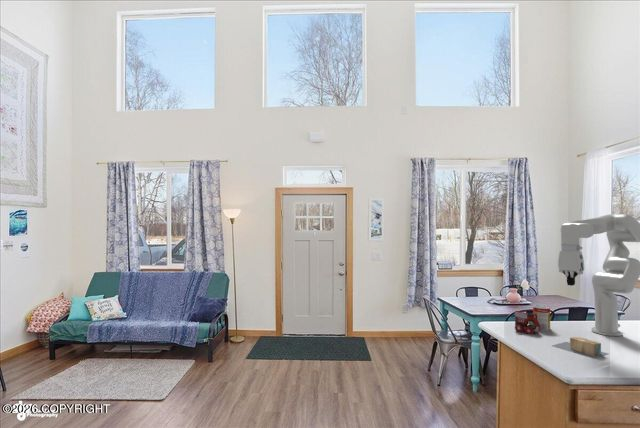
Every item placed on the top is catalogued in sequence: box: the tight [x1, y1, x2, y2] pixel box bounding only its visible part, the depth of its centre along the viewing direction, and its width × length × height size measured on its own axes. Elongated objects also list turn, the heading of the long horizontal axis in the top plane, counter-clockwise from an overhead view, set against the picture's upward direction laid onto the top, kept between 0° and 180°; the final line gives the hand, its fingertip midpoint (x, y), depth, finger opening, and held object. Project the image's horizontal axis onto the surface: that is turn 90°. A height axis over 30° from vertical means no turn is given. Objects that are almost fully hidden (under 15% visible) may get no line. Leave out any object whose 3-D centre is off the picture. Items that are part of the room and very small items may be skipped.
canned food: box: [532, 304, 551, 332], centre depth 197 cm, size 8×8×12 cm
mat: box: [551, 341, 609, 359], centre depth 164 cm, size 12×18×1 cm, turn 27°
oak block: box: [569, 335, 602, 356], centre depth 162 cm, size 5×5×10 cm
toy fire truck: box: [514, 310, 541, 335], centre depth 191 cm, size 7×12×10 cm, turn 37°
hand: (570, 285), depth 179 cm, fingers closed
